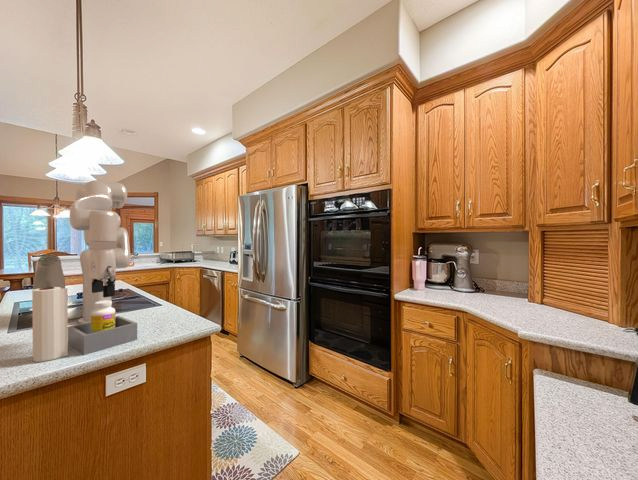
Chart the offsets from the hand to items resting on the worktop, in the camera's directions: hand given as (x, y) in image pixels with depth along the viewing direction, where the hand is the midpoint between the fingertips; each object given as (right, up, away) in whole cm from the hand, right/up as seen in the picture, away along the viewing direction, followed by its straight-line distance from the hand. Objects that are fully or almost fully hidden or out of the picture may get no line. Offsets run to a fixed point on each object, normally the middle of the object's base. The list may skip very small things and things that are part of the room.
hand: (103, 294), depth 94 cm
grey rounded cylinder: (-46, -16, +27) cm, 55 cm away
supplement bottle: (0, -16, 0) cm, 16 cm away
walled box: (0, -17, 0) cm, 17 cm away
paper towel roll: (-6, -17, -13) cm, 22 cm away
